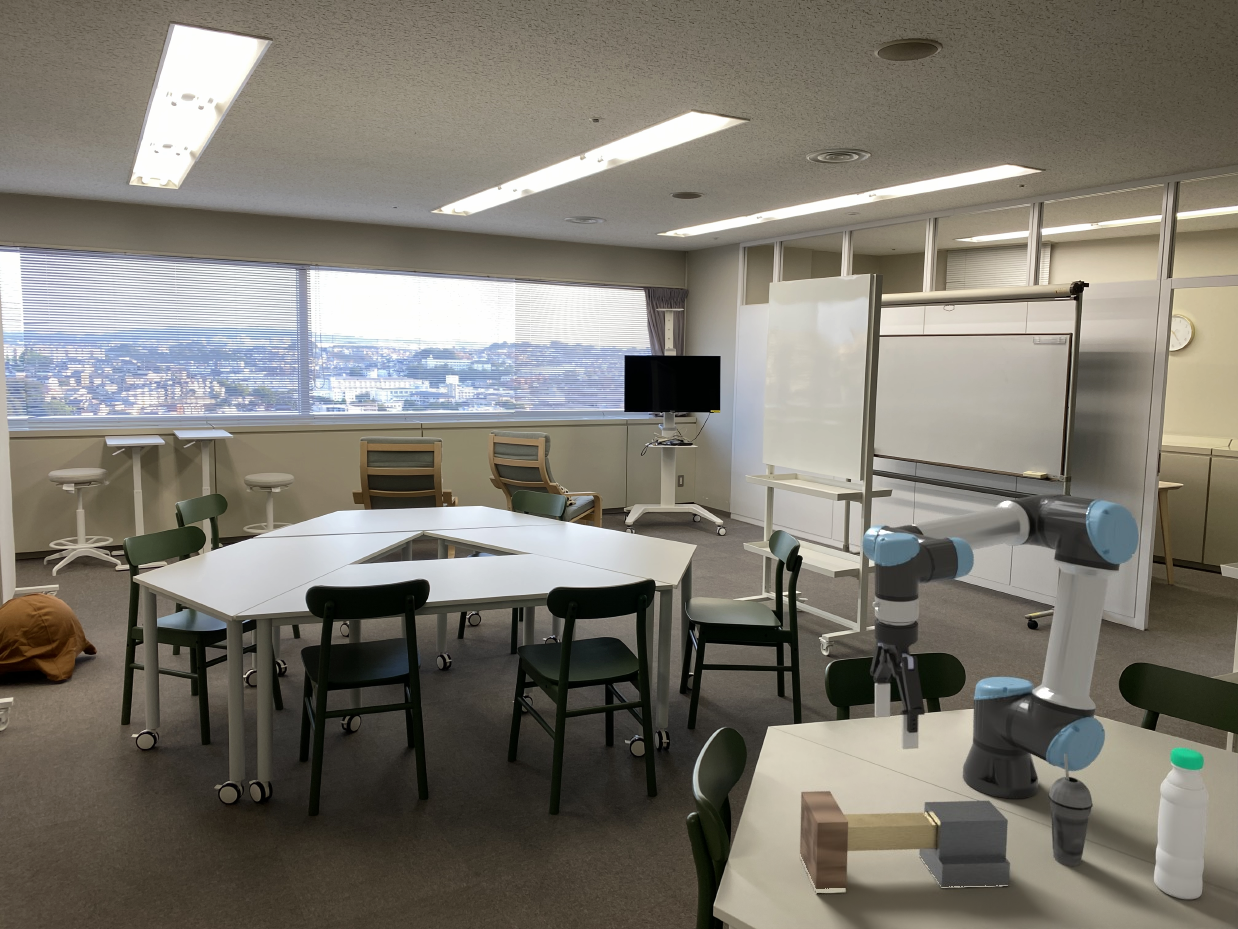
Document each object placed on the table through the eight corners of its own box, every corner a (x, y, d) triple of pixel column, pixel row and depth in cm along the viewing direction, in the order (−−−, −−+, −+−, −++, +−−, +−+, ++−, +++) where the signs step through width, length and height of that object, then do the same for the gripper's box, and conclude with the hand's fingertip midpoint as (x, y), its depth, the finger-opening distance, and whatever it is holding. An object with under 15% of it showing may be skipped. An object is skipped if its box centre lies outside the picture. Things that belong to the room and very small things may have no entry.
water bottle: (1186, 906, 146) (1197, 764, 144) (1144, 884, 153) (1154, 748, 150) (1210, 894, 150) (1221, 755, 147) (1168, 873, 156) (1178, 740, 153)
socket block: (799, 858, 161) (801, 791, 159) (828, 858, 161) (829, 791, 160) (815, 894, 150) (817, 822, 148) (846, 893, 150) (848, 822, 149)
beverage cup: (1087, 875, 155) (1094, 768, 153) (1042, 862, 159) (1048, 758, 157) (1090, 855, 162) (1096, 753, 159) (1047, 844, 165) (1052, 744, 163)
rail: (817, 838, 157) (818, 814, 157) (936, 835, 158) (937, 811, 158) (824, 852, 153) (825, 827, 152) (947, 848, 154) (948, 824, 153)
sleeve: (919, 857, 161) (921, 798, 160) (982, 855, 162) (985, 796, 161) (941, 889, 151) (944, 826, 150) (1008, 887, 152) (1011, 824, 151)
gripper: (853, 601, 169) (853, 705, 171) (901, 642, 144) (901, 764, 147) (891, 599, 169) (890, 703, 172) (946, 640, 145) (944, 761, 147)
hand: (895, 731), depth 159 cm, fingers open, 13 cm apart
